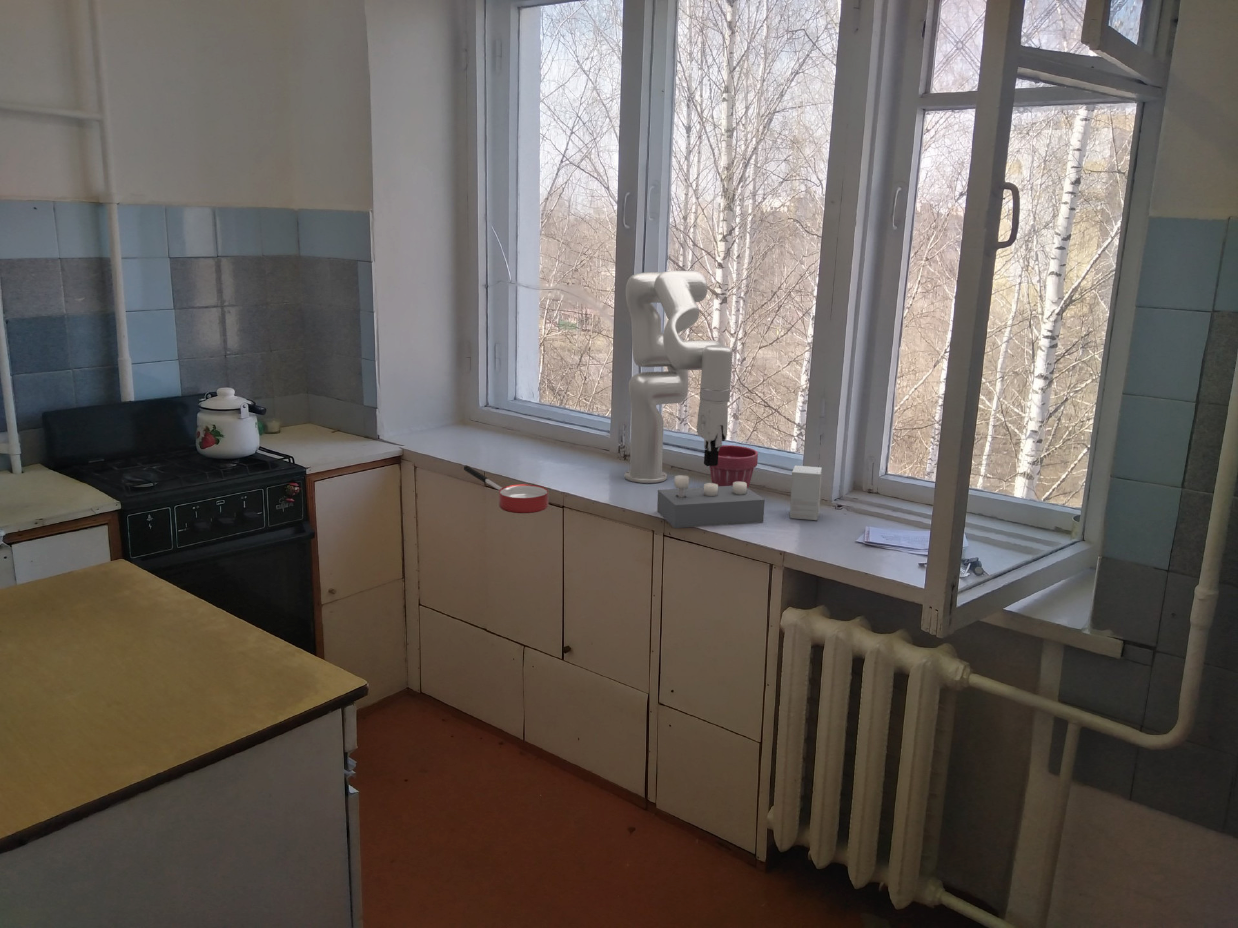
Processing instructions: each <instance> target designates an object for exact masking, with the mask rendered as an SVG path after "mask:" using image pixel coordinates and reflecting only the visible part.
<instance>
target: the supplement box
mask: <svg viewBox="0 0 1238 928" xmlns="http://www.w3.org/2000/svg"><path fill="white" fill-rule="evenodd" d="M822 469H823V468H822V467H821V466H820V467H817V466H808V465H807V466H806V465H794V467H793V469H792V471H791V488H790V505H789V519H798V520H809V521H818V519H819V514H820V508H821V507H820V505H821V486H822V473H823V470H822Z"/></svg>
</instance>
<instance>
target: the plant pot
mask: <svg viewBox="0 0 1238 928" xmlns="http://www.w3.org/2000/svg"><path fill="white" fill-rule="evenodd" d="M758 457H759V453H758V451H757V450H755V449H753V448H750V447H747V446H746V447H745V446H741V445H733V444H732V445H726V444H725V445H723V444H722V447H719V452H718V465H717V466H709V471H710V479H711V483H715V484H717V485H718V486H733V482H738V481H740V482H745V483H747V488H748V489H750V484H751V481H752V476H753V472H754V470H755V468H756V467H757V466H758Z"/></svg>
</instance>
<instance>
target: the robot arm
mask: <svg viewBox="0 0 1238 928" xmlns="http://www.w3.org/2000/svg"><path fill="white" fill-rule="evenodd" d="M625 285H626V286H625V299H626V305H627V309H628V311H629V316H630V320H631V342H632V343H631V344H632V345H631V346H632V347H631V349H632V358H633V362H634V363H635V365H636V366H638V367H641V368H663V367H666V368H667V371H666V370H665V371H642V372H638V373H635V374H634V375H633V376H632V377H631V378H630V379H629V382H628V394H629V401H630V415H631V416H630V457H629V458H630V461H629V470H627V471H626V472H624V478H625V480H627V481H630V482H632V483H639V484H641V483H642V484H654V483H660V482H664V481H666V480H667V479H668V474H667V473H666V472H665V471H663V456H664V455H663V453H664V452H663V451H664V426H665V425H664V418H663V416H662V414H661V412H660V411H659V409H658V407H657V406H658V405H668V404H670V405H671V404H672V405H674V404H679V403H682V402H684V401H685V400H686V399H687V397H688V393H689V392H688V390H689V371H701V374H700V389H699V405H698V411H697V412H698V413H697V422H696V433H697V435H698V436H700V437H701V438H702V439H703V442H704V443H703V446H704V455H703V464H704V466H706V467H710V466H717V465H718V452H719V447H722V445H723V442H725V441H726V440H727V437H728V428H729V427H728V426H729V425H728V422H729V420H728V419H729V418H728V417H729V414H728V413H729V412H728V410H729V409H728V406H729V405H728V403H730V399H731V398H730V397H731V387H732V372H733V371H732V369H733V356H734V355H733V354H734V352H733V350H732V348H731V347H729V346H727V345H723V343H721V342H720V341H718V340H712V339H709V340H706V339H705V340H702V339H699V340H698V339H697V340H696V339H695V340H685V339H684V338H683V337H682V336H681V335H679V334H680V333H681V332H683V331H684V330H685V331H686V330H687V329H689V328H690V327H691V326H692V327H693V325H694V324H695V323H696V322H697V321H698V320H699V317H700V312H701V311H700V308H699V306H698V304H697V303H699V302H702V301H703V300H705V299H706V297H707V294H708V289H709V288H708V282H707V279H706V277H705V276H704V274H703V273H702V272H700V271H698V270H667V271H661V272H660V271H658V272H656V271H654V272H653V271H652V272H651V271H647V272H639V273H635V274H633V275H631V276H630V277H629V278H628V279H627V282H626V284H625ZM655 303H656V304H657V303H658V304H659V303H660V304H661V306H662V309H663V311H664V313H665V316H666V317H667V319H668V320H667V322H666V324H665V327H664V329H663V332H662V319H661V318H662V317H661V315H660V314H659V312H658V309H656V307H655V306H654V305H653V304H655Z"/></svg>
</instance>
